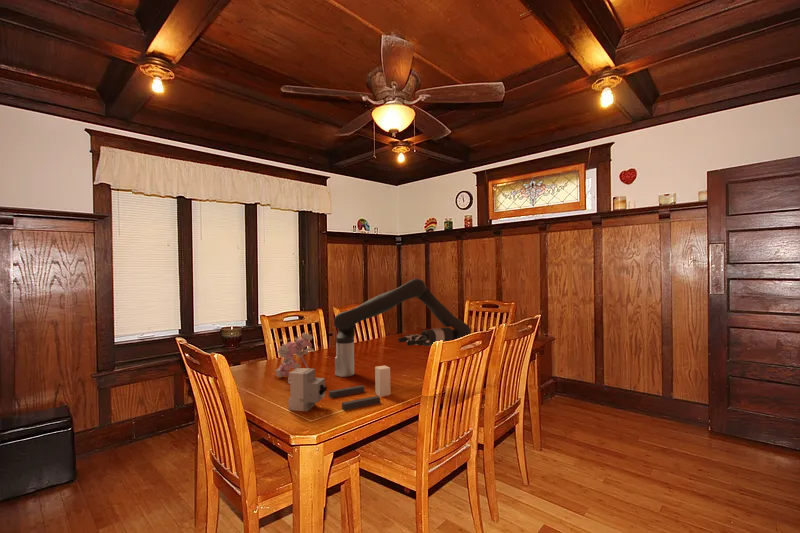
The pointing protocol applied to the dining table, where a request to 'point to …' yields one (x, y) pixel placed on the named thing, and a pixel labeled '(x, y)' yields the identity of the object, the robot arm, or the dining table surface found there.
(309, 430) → the dining table surface
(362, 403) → the dark gray parallel rails
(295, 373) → the circuit breaker
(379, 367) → the plug block
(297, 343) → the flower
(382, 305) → the robot arm
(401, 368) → the dining table surface
